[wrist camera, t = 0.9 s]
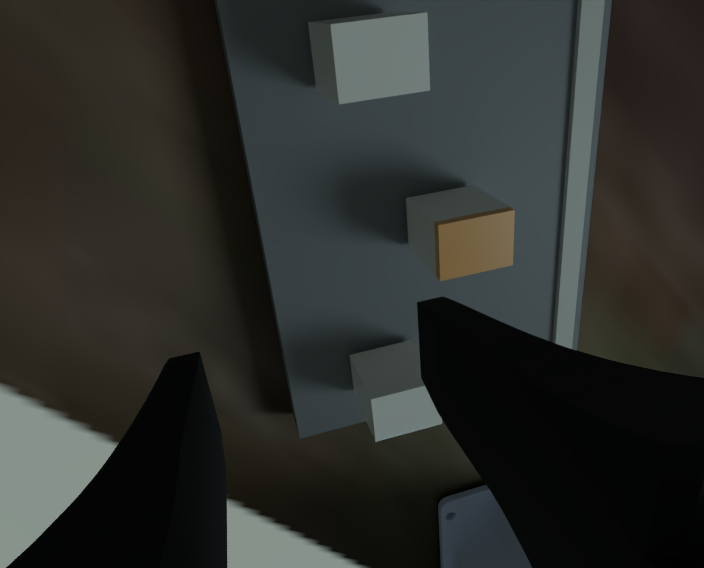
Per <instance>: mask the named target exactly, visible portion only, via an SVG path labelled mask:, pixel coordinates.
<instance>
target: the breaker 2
mask: <svg viewBox="0 0 704 568" xmlns="http://www.w3.org/2000/svg"><path fill="white" fill-rule="evenodd" d="M349 356H350V364H351V372H352V380H353V388H354V395H355V397H356V399H357V401H358V404H359V406H360V408H361V410H362V413H363V415H364V417H365V419H366V422H367V424H368V426H369V428H370V430H371V433H372V435H373V437H374V439H375V442H377V441H381V440H384V439H388V438H392V437H395V436H399V435H403V434H406V433H410V432H414V431H417V430H421V429H425V428H428V427H432V426H436V425H439V424H442V418H441V417H440V415H439V414H438V412H437V410H436V408H435V406H434V404H433V402H432V400H431V398H430V396H429V393H428V391H427V389H426V387H425V385H424V383H423V381H422V379H421V368H420V351H419V350H418V348H417V347H416V345H415V344H414V343H413V341H412V340H409V341H405V342H401V343H397V344H393V345H388V346H384V347H380V348H376V349H372V350H368V351H363V352H359V353H355V354H351V355H349Z"/></svg>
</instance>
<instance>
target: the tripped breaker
mask: <svg viewBox="0 0 704 568" xmlns="http://www.w3.org/2000/svg"><path fill="white" fill-rule="evenodd" d="M406 211H407V228H408V244H409V249H410V250H411V251H412V252H413V253H414V254H415V255H416V256H417V257H418V259H419V260H420V261H421V262H422V263H423V264H424V265H425V266H426V267H427V268H428V269H429V270H430V271H431V272H432V273H433V274H434V275H435V276H436V277H437V279H438V280H439V281H444V280H449V279H453V278H458V277H462V276H467V275H471V274H476V273H480V272H485V271H489V270H494V269H498V268H503V267H507V266H512V265H513V249H514V219H515V210H514V209H512V208H511V207H509V206H507V205H506V204H504V203H502V202H501V201H499V200H497V199H496V198H494V197H492V196H491V195H489V194H487V193H486V192H484V191H482V190H481V189H479V188H477V187H476V186H474V185H471V186H466V187H461V188H455V189H450V190H445V191H440V192H434V193H429V194H424V195H419V196H413V197H408V198H406Z"/></svg>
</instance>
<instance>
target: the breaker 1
mask: <svg viewBox="0 0 704 568" xmlns="http://www.w3.org/2000/svg"><path fill="white" fill-rule="evenodd" d="M308 27H309V35H310V43H311V51H312V59H313V67H314V75H315V83H316V91H318V92H319V93H321V94H323V95H324V96H326V97H328V98H329V99H331V100H333V101H334V102H336V103H338V104H345V103H352V102H358V101H365V100H371V99H378V98H385V97H391V96H398V95H404V94H411V93H417V92H424V91H430V70H429V42H428V14H427V12H387V13H379V14H371V15H363V16H354V17H346V18H338V19H330V20H322V21H314V22H308Z"/></svg>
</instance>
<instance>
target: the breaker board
mask: <svg viewBox="0 0 704 568" xmlns="http://www.w3.org/2000/svg"><path fill="white" fill-rule="evenodd" d="M611 3H612V0H214V4H215V9H216V14H217V19H218V24H219V30H220V35H221V40H222V45H223V51H224V56H225V61H226V66H227V71H228V77H229V82H230V87H231V92H232V98H233V103H234V108H235V113H236V118H237V124H238V129H239V134H240V139H241V145H242V150H243V155H244V160H245V165H246V171H247V176H248V181H249V186H250V192H251V197H252V202H253V207H254V212H255V218H256V223H257V228H258V233H259V239H260V244H261V249H262V254H263V259H264V265H265V270H266V275H267V280H268V286H269V291H270V296H271V301H272V306H273V312H274V317H275V322H276V327H277V333H278V338H279V343H280V348H281V353H282V359H283V364H284V369H285V374H286V380H287V385H288V390H289V395H290V400H291V406H292V411H293V416H294V419H295V423H296V427H297V430H298V434H299V438H300V439H301V438H304V437H308V436H312V435H316V434H319V433H323V432H327V431H331V430H335V429H338V428H342V427H346V426H350V425H353V424H357V423H361V422H365V421H366V419H365V417H364V415H363V413H362V410H361V408H360V406H359V404H358V401H357V399H356V397H355V395H354V388H353V380H352V372H351V364H350V356H349V355H351V354H355V353H359V352H363V351H368V350H372V349H376V348H380V347H384V346H388V345H393V344H397V343H401V342H405V341H409V340H412V341H413V343H414V344H415V345H416V347H417V348H418V350H419V332H418V314H417V302H420V301H425V300H429V299H433V298H438V297H442V296H443V297H446V298H449V299H451V300H454V301H456V302H458V303H461V304H463V305H465V306H467V307H470V308H472V309H474V310H476V311H478V312H481V313H483V314H485V315H487V316H489V317H492V318H494V319H496V320H498V321H501V322H503V323H505V324H507V325H510V326H512V327H514V328H517V329H519V330H522V331H524V332H526V333H529V334H531V335H534V336H537V337H539V338H542V339H545V340H547V341H550V342H553V343H555V344H558V345H561V346H564V347H567V348H570V349H573V350H576V351H577V346H578V336H579V326H580V316H581V305H582V295H583V285H584V275H585V265H586V255H587V245H588V235H589V225H590V215H591V205H592V195H593V184H594V174H595V164H596V154H597V144H598V134H599V124H600V114H601V104H602V94H603V84H604V73H605V63H606V53H607V43H608V33H609V23H610V13H611ZM387 12H427V14H428V42H429V70H430V91H424V92H417V93H411V94H404V95H398V96H391V97H385V98H378V99H371V100H365V101H358V102H352V103H345V104H338V103H336V102H334V101H333V100H331V99H329V98H328V97H326V96H324V95H323V94H321V93H319V92H318V91H316V83H315V75H314V67H313V59H312V51H311V43H310V35H309V27H308V22H314V21H322V20H330V19H338V18H346V17H354V16H363V15H371V14H379V13H387ZM471 185H474V186H476V187H477V188H479V189H481V190H482V191H484V192H486V193H487V194H489V195H491V196H492V197H494V198H496V199H497V200H499V201H501V202H502V203H504V204H506V205H507V206H509V207H511V208H512V209H514V210H515V219H514V249H513V265H512V266H507V267H503V268H498V269H494V270H489V271H485V272H480V273H476V274H471V275H467V276H462V277H458V278H453V279H449V280H444V281H439V280H438V279H437V277H436V276H435V275H434V274H433V273H432V272H431V271H430V270H429V269H428V268H427V267H426V266H425V265H424V264H423V263H422V262H421V261H420V260H419V259H418V257H417V256H416V255H415V254H414V253H413V252H412V251H411V250H410V249H409V244H408V228H407V211H406V198H408V197H413V196H419V195H424V194H429V193H434V192H440V191H445V190H450V189H455V188H461V187H466V186H471ZM419 351H420V350H419Z"/></svg>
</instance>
